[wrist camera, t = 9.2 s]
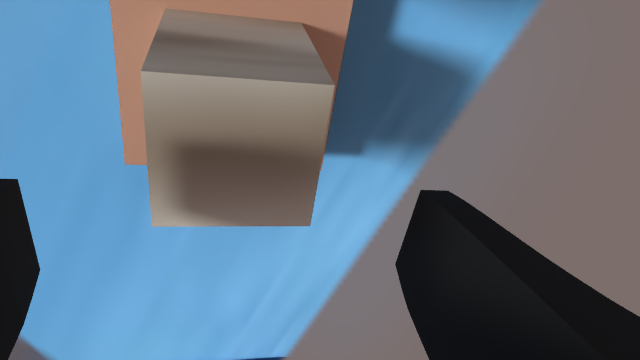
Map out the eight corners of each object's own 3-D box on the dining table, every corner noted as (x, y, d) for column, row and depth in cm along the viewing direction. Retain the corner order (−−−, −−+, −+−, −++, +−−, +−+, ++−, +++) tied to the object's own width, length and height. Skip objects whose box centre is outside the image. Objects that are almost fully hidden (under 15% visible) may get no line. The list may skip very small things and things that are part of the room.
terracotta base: (312, 145, 19) (321, 170, 17) (133, 136, 17) (124, 164, 15) (343, -37, 15) (358, -25, 13) (117, -71, 13) (104, -63, 12)
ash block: (287, 136, 16) (309, 225, 12) (169, 130, 15) (152, 226, 11) (301, 22, 14) (335, 85, 10) (165, 8, 13) (140, 71, 9)
